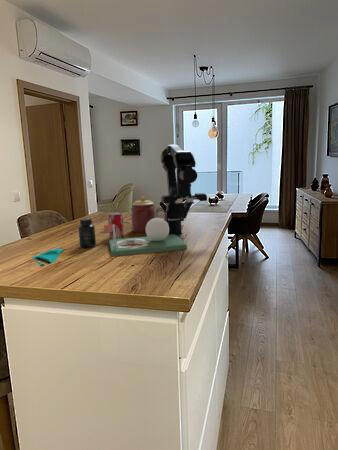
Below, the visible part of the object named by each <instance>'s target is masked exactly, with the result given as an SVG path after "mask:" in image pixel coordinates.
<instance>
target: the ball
mask: <svg viewBox="0 0 338 450" xmlns="http://www.w3.org/2000/svg"><path fill="white" fill-rule="evenodd" d="M145 234H146V237H149V238H150V239H151V240H153V241H162V240H164V239H165V238H166V237H167V236H168V235H169V226H168V223H167V222H166V221H165V218H161V217H156V218H153V219H151V220H150V221H149V222H148V223H147V225H146V233H145Z"/></svg>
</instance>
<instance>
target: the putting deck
mask: <svg viewBox="0 0 338 450" xmlns="http://www.w3.org/2000/svg"><path fill="white" fill-rule="evenodd" d="M103 229H104V231H103V232H104V233H105V232H109V231H113V239H109V240H108V242H109V249H110V253H111V254H110V255H111V256H112V257H115V256H116V257H117V256H126V255H127V256H128V255H135V254H136V255H137V254H149V253H159V252H160V253H161V252H168V251H171V252H172V251H177V250H178V251H180V250H188V245H187V243H186V242H184V241H183V239H181V238H180V237H179V236H178V234H176V235H175V234H172V235H169V234H168V236H167V237H166V238H165V239H164V240H162V241H153V240H151V239H150V238H149V237H148V236H139V237H138V236H136V237H127V238H125V237H123V238H122V239H115V225H109V224H104V225H103ZM127 245H139V246H127Z"/></svg>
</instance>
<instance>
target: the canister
mask: <svg viewBox="0 0 338 450" xmlns="http://www.w3.org/2000/svg"><path fill="white" fill-rule="evenodd" d="M154 204H155V202H154V201H153V200H151V199H149V200H148V199H146V197H145V196H141V197H140V199H139V200H135V201H134V202H133V203H131V205H132V207H130V210H131V214H130V216H131V217H130V220H131V229H132V230H131V231H132V232H133V233H138V234H140V233H141V234H143V233H145V234H146V225H147V223H148V222H149V221H150V220H151V219H153V218H157V213H156V209H157V207H156V206H154Z"/></svg>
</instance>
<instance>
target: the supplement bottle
mask: <svg viewBox="0 0 338 450" xmlns="http://www.w3.org/2000/svg"><path fill="white" fill-rule="evenodd" d="M92 223H93V220H92V218H82V219H81V218H80V220H79V224H80V225H79V226H78V238H79V246H80V248H81V249H91V248H94V247H96V245H97V242H96V240H97V239H96V230H95V229H96V228H95V226H94V224H92Z"/></svg>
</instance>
